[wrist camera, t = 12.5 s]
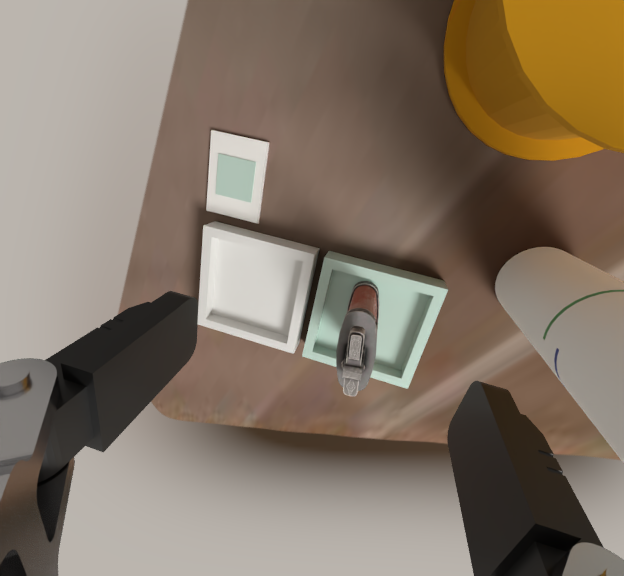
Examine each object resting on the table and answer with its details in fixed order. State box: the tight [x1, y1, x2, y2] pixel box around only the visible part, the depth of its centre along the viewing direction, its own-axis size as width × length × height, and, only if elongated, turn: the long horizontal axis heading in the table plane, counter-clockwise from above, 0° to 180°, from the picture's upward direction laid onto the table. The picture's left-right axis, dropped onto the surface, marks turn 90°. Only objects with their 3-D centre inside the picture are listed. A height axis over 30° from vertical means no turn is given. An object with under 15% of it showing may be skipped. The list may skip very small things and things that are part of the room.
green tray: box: [302, 251, 448, 389], centre depth 34 cm, size 12×12×2 cm
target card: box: [206, 130, 269, 224], centre depth 33 cm, size 8×6×1 cm
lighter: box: [336, 281, 379, 396], centre depth 30 cm, size 8×3×10 cm, turn 177°
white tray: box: [197, 221, 320, 354], centre depth 36 cm, size 12×12×2 cm
